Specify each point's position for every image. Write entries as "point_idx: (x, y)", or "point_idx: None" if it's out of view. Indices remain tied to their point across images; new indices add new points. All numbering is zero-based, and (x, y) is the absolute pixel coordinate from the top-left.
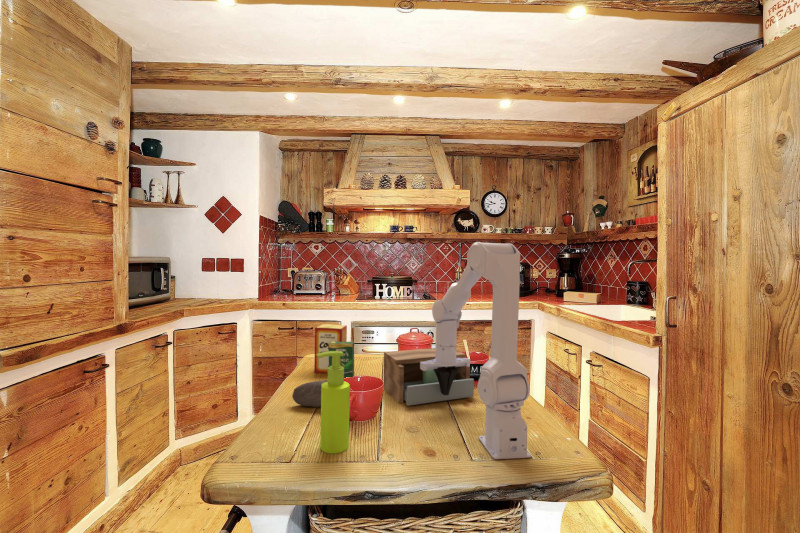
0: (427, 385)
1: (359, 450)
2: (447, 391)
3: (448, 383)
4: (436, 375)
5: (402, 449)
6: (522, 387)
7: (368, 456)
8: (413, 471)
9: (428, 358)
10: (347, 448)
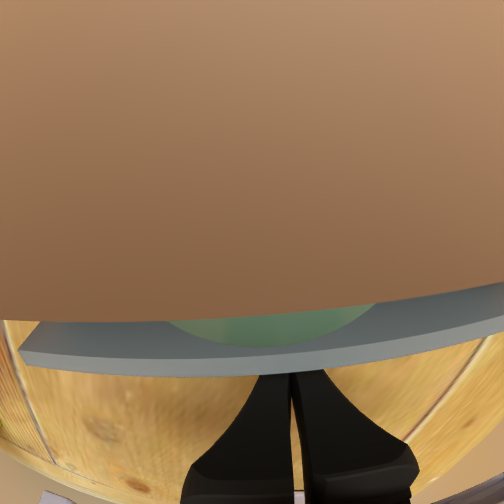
0: (151, 372)
1: (20, 435)
2: (292, 398)
3: (300, 444)
4: (226, 435)
5: (87, 465)
6: None
7: (39, 452)
8: (110, 495)
9: (118, 301)
10: (1, 424)
